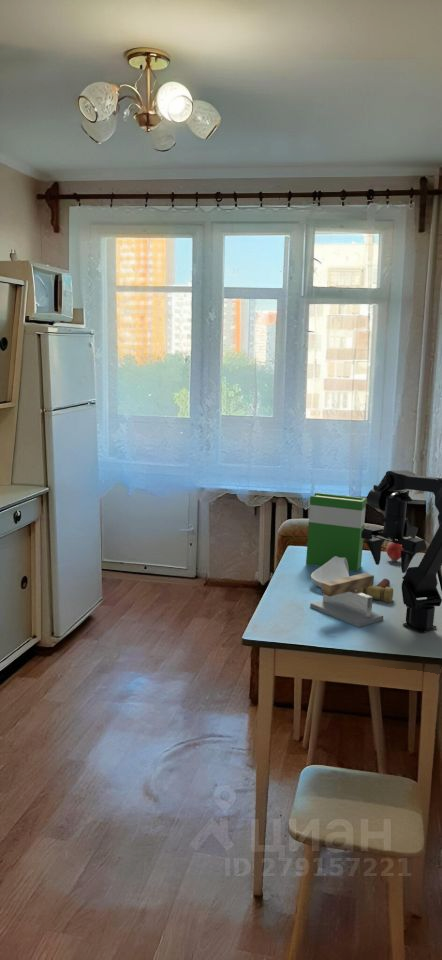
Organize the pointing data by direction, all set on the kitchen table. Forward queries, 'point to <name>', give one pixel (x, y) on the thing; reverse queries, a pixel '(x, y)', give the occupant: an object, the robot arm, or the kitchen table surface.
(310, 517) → the hardback book
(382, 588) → the gavel
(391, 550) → the onion
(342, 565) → the spoon rest
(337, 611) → the board
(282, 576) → the kitchen table surface
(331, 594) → the walnut batten
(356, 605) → the steel ridge
